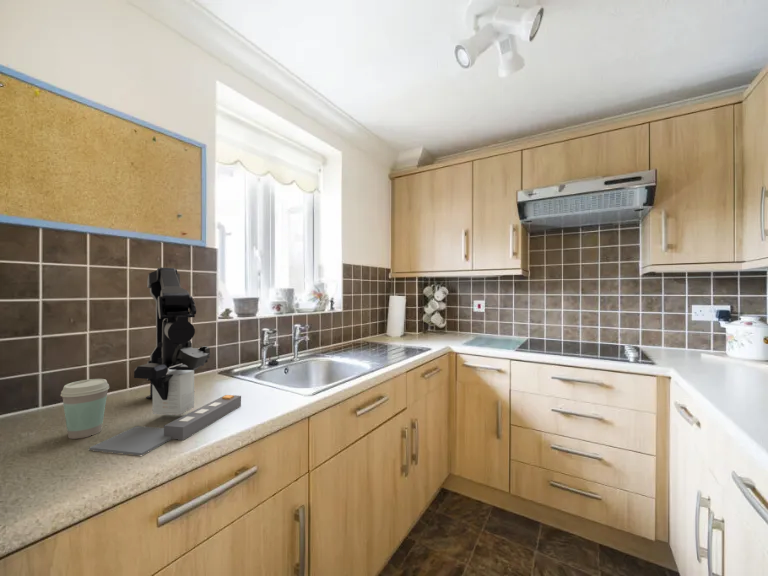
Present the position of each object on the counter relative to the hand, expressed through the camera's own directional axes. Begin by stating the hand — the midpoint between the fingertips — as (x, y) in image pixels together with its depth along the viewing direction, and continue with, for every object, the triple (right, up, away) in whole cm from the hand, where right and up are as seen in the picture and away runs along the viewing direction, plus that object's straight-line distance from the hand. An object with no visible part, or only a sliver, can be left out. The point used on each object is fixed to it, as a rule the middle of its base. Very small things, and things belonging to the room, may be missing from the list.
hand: (173, 396), depth 86 cm
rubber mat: (+1, -6, -14) cm, 15 cm away
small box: (0, -4, 0) cm, 4 cm away
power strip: (+10, -6, -2) cm, 12 cm away
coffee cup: (-15, -6, -10) cm, 19 cm away
